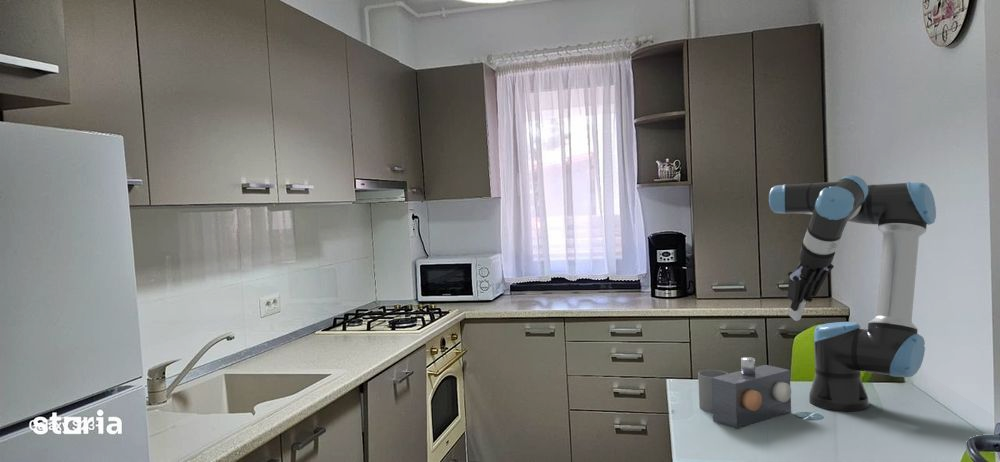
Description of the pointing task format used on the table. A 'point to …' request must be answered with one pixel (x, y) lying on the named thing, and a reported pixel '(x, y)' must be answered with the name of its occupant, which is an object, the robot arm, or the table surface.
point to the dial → (748, 365)
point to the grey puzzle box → (733, 388)
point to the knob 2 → (781, 391)
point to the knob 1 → (752, 400)
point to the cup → (707, 388)
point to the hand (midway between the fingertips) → (794, 317)
